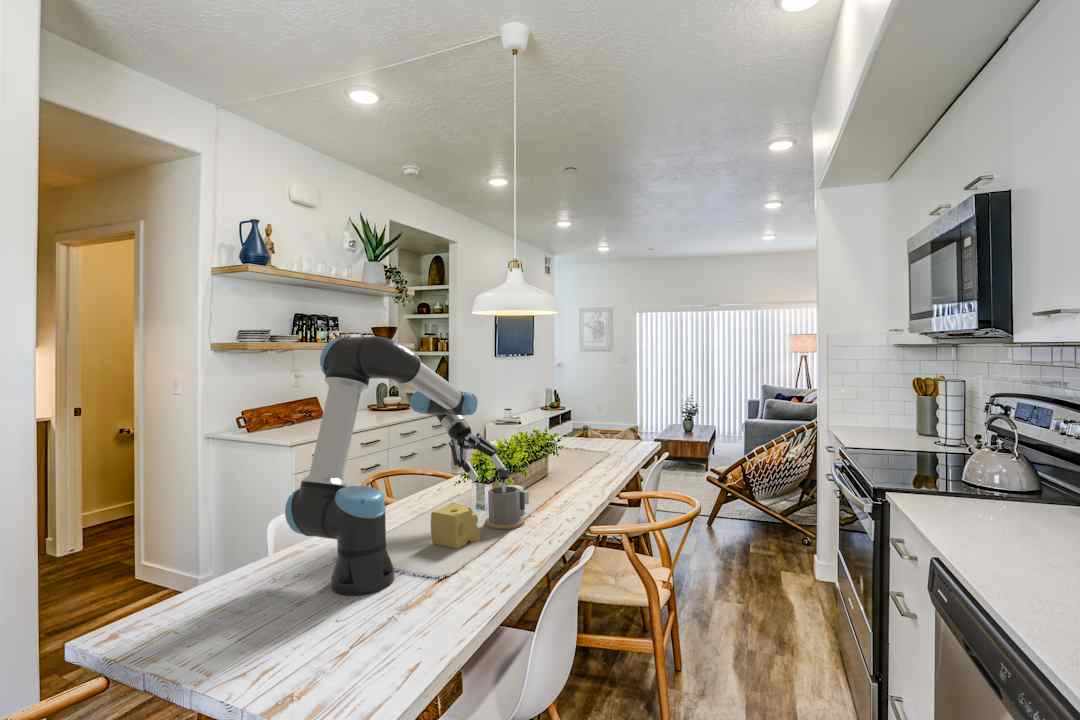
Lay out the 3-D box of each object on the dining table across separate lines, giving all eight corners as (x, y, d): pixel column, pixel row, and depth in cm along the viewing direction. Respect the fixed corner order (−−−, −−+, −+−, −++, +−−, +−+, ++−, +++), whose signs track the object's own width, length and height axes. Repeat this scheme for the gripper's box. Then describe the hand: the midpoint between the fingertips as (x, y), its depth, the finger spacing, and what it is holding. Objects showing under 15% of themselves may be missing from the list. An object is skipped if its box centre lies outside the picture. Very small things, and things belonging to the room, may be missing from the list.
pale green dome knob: (533, 513, 195) (532, 487, 194) (508, 518, 190) (507, 491, 190) (523, 508, 201) (522, 483, 201) (498, 512, 197) (497, 487, 196)
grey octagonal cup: (532, 524, 182) (531, 491, 182) (495, 532, 176) (494, 497, 175) (514, 514, 194) (513, 482, 193) (478, 521, 187) (477, 488, 187)
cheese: (479, 539, 171) (478, 506, 170) (456, 550, 161) (455, 516, 161) (453, 533, 176) (452, 502, 176) (429, 544, 167) (428, 511, 167)
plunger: (517, 517, 183) (516, 469, 183) (500, 521, 180) (498, 472, 180) (509, 512, 189) (507, 465, 188) (491, 516, 186) (490, 468, 185)
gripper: (475, 429, 208) (507, 474, 200) (424, 439, 188) (457, 490, 180) (486, 415, 205) (519, 460, 196) (435, 424, 185) (469, 475, 176)
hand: (489, 474), depth 188 cm, fingers open, 13 cm apart
